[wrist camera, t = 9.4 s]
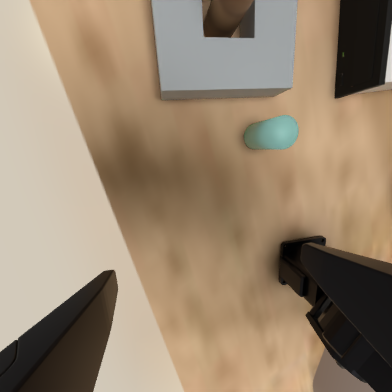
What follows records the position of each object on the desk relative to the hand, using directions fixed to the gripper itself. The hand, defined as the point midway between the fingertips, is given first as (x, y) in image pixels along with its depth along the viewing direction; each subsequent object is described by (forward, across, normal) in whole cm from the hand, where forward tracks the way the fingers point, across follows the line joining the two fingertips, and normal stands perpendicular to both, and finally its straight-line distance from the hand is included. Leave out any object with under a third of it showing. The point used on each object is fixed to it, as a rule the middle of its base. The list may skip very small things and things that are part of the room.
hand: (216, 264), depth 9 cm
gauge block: (+13, -4, -16) cm, 21 cm away
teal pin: (+13, -8, -6) cm, 17 cm away
